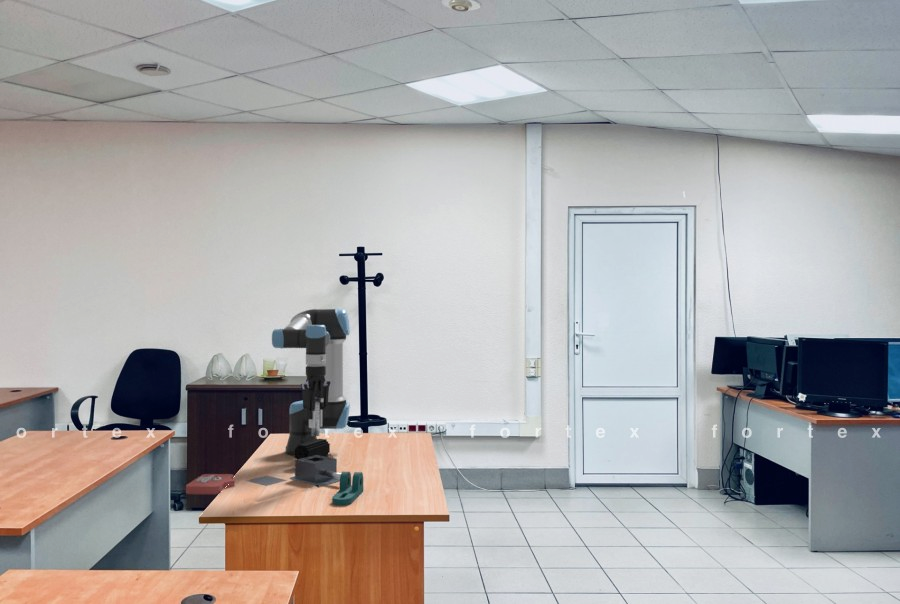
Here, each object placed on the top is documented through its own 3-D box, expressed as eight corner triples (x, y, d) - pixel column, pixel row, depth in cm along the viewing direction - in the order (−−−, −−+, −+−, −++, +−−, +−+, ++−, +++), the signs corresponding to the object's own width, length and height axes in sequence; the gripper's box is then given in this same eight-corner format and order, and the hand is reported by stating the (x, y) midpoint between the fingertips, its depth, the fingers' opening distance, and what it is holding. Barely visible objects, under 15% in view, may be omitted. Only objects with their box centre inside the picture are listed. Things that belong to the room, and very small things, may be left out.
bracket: (345, 491, 253) (345, 469, 253) (363, 492, 252) (363, 470, 252) (329, 505, 235) (329, 482, 235) (349, 506, 234) (349, 483, 234)
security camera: (333, 461, 298) (333, 438, 298) (307, 471, 281) (307, 446, 281) (320, 460, 301) (320, 437, 301) (293, 469, 284) (293, 444, 284)
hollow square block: (289, 480, 267) (289, 459, 267) (313, 474, 277) (313, 453, 277) (331, 489, 254) (331, 467, 254) (354, 482, 263) (354, 461, 263)
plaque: (225, 485, 247) (184, 484, 248) (225, 495, 247) (184, 495, 248) (242, 472, 265) (203, 472, 265) (242, 482, 265) (203, 482, 265)
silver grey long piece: (306, 435, 268) (306, 397, 268) (312, 433, 270) (312, 396, 270) (319, 437, 264) (319, 398, 264) (324, 436, 266) (325, 398, 266)
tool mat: (245, 482, 264) (245, 480, 264) (266, 476, 272) (266, 475, 272) (266, 487, 257) (266, 485, 257) (287, 481, 265) (287, 480, 265)
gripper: (306, 367, 258) (306, 431, 258) (337, 364, 271) (337, 425, 271) (292, 366, 263) (292, 428, 263) (324, 363, 276) (324, 423, 276)
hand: (315, 426), depth 267 cm, fingers closed on silver grey long piece, 3 cm apart
